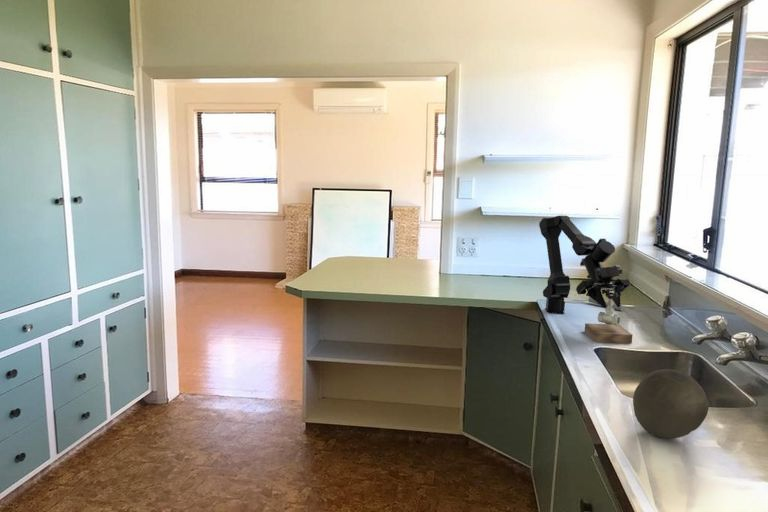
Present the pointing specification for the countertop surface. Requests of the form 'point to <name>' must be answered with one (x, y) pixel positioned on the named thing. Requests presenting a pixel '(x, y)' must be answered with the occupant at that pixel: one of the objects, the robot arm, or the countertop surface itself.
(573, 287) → the kitchen whisk
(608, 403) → the countertop surface
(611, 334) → the walnut plinth
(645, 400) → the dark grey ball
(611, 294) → the valve
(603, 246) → the robot arm
